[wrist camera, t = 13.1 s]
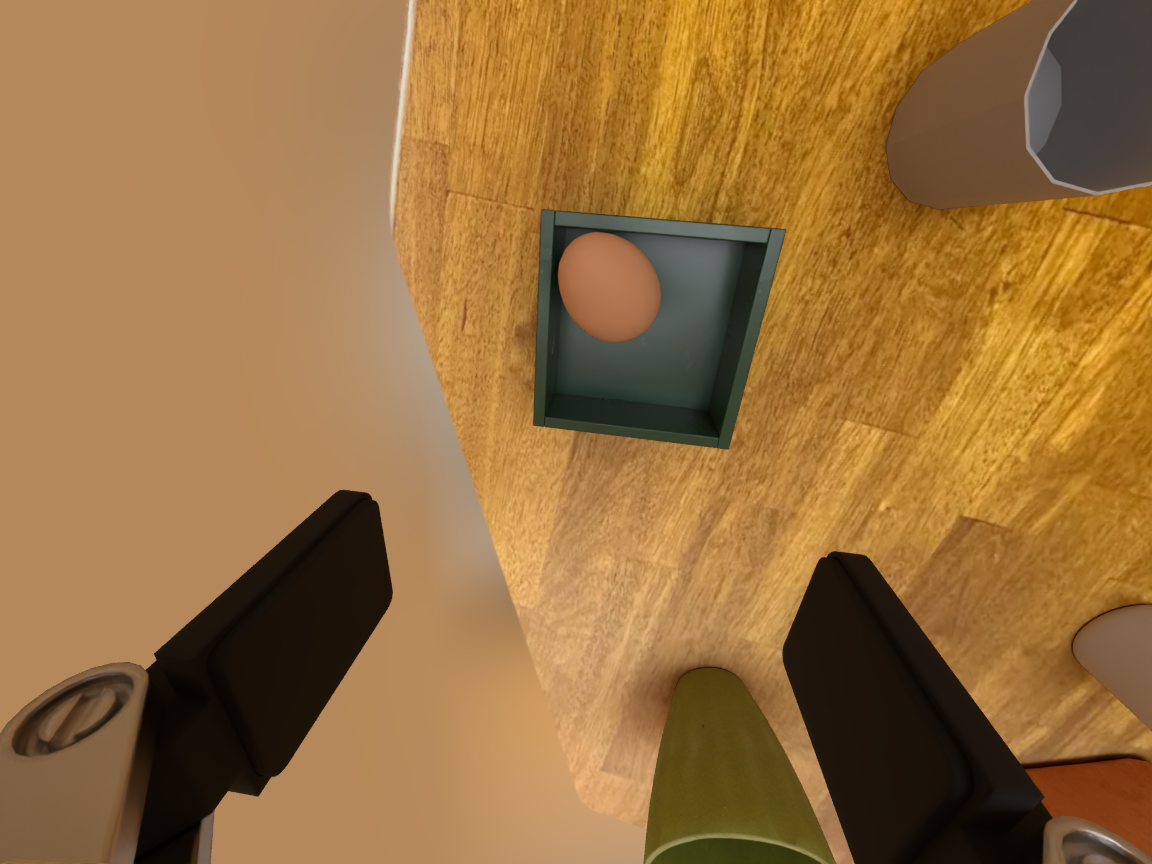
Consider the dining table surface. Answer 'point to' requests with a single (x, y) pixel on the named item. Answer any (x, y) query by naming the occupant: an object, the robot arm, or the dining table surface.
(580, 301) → the egg
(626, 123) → the dining table surface
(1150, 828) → the bread
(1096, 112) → the cup
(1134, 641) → the mug
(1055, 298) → the dining table surface
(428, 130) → the dining table surface
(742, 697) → the flower pot
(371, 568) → the robot arm
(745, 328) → the dark green open crate
